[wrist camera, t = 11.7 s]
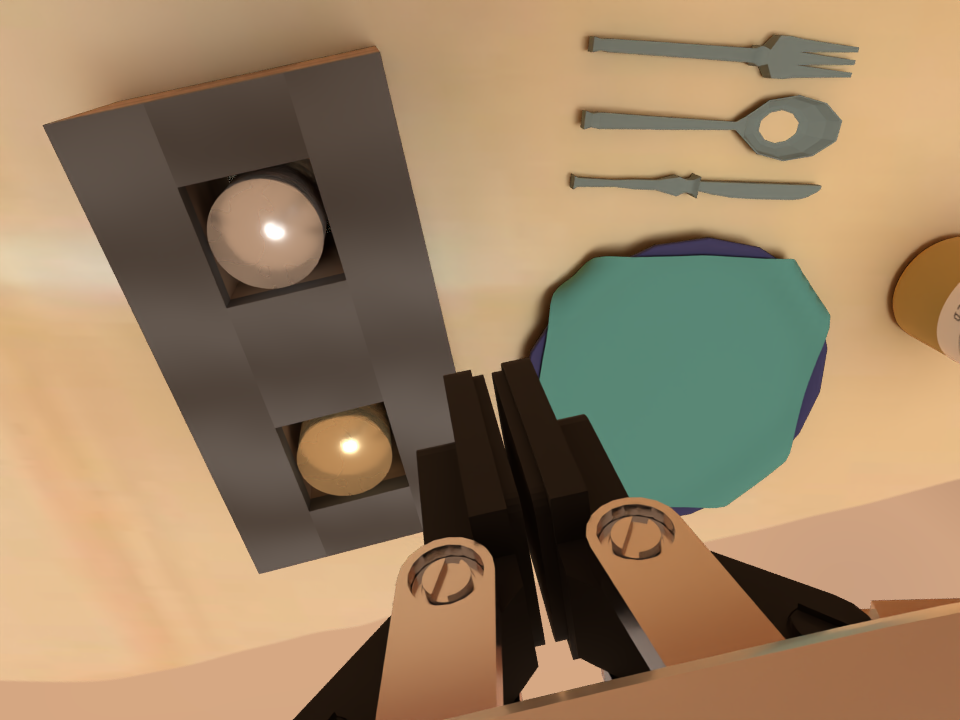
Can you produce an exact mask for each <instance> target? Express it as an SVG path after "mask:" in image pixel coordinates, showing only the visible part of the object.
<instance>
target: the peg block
mask: <svg viewBox="0 0 960 720" xmlns="http://www.w3.org/2000/svg"><path fill="white" fill-rule="evenodd" d="M43 127H44V129H45V131H46V133H47V135H48V137H49V139H50V142H51V144H52V146H53V148H54V150H55V152H56V154H57V156H58V158H59V160H60V162H61V164H62V166H63V169H64V171H65V173H66V175H67V177H68V179H69V181H70V183H71V185H72V187H73V189H74V191H75V193H76V195H77V198H78V200H79V202H80V204H81V206H82V208H83V210H84V212H85V214H86V216H87V218H88V220H89V222H90V224H91V227H92V229H93V231H94V233H95V235H96V237H97V239H98V241H99V243H100V245H101V247H102V249H103V251H104V253H105V256H106V258H107V260H108V262H109V264H110V266H111V268H112V270H113V272H114V274H115V276H116V278H117V280H118V283H119V285H120V287H121V289H122V291H123V293H124V295H125V297H126V299H127V301H128V303H129V305H130V307H131V309H132V312H133V314H134V316H135V318H136V320H137V322H138V324H139V326H140V328H141V330H142V332H143V334H144V336H145V338H146V341H147V343H148V345H149V347H150V349H151V351H152V353H153V355H154V357H155V359H156V361H157V363H158V365H159V367H160V370H161V372H162V374H163V376H164V378H165V380H166V382H167V384H168V386H169V388H170V390H171V392H172V394H173V396H174V399H175V401H176V403H177V405H178V407H179V409H180V411H181V413H182V415H183V417H184V419H185V421H186V423H187V426H188V428H189V430H190V432H191V434H192V436H193V438H194V440H195V442H196V444H197V446H198V448H199V450H200V452H201V455H202V457H203V459H204V461H205V463H206V465H207V467H208V469H209V471H210V473H211V475H212V477H213V479H214V481H215V484H216V486H217V488H218V490H219V492H220V494H221V496H222V498H223V500H224V502H225V504H226V506H227V508H228V510H229V513H230V515H231V517H232V519H233V521H234V523H235V525H236V527H237V529H238V531H239V533H240V535H241V537H242V540H243V542H244V544H245V546H246V548H247V550H248V552H249V554H250V556H251V558H252V560H253V562H254V564H255V566H256V569H257V571H258V573H259V574H262V573H265V572H269V571H273V570H277V569H281V568H285V567H289V566H292V565H296V564H300V563H304V562H308V561H312V560H316V559H319V558H323V557H327V556H331V555H335V554H339V553H343V552H346V551H350V550H354V549H358V548H362V547H366V546H370V545H373V544H377V543H381V542H385V541H389V540H393V539H397V538H400V537H404V536H408V535H412V534H416V533H420V532H423V524H422V513H421V502H420V491H419V480H418V468H417V457H416V451H417V450H420V449H425V448H429V447H434V446H438V445H443V444H448V443H452V442H455V440H454V435H453V429H452V424H451V418H450V413H449V407H448V402H447V396H446V391H445V385H444V379H443V375H448V374H453V373H456V371H455V367H454V363H453V358H452V354H451V350H450V346H449V342H448V337H447V333H446V329H445V325H444V321H443V316H442V312H441V308H440V304H439V299H438V295H437V291H436V287H435V283H434V278H433V274H432V270H431V266H430V261H429V257H428V253H427V249H426V245H425V240H424V236H423V232H422V228H421V224H420V219H419V215H418V211H417V207H416V202H415V198H414V194H413V190H412V186H411V181H410V177H409V173H408V169H407V164H406V160H405V156H404V152H403V148H402V143H401V139H400V135H399V131H398V127H397V122H396V118H395V114H394V110H393V105H392V101H391V97H390V93H389V89H388V84H387V80H386V76H385V72H384V68H383V63H382V59H381V55H380V52H379V50H378V49H377V47H376V46H373V47H368V48H363V49H359V50H354V51H350V52H345V53H340V54H336V55H331V56H327V57H322V58H317V59H313V60H308V61H303V62H299V63H294V64H290V65H285V66H280V67H276V68H271V69H267V70H262V71H257V72H253V73H248V74H243V75H239V76H234V77H230V78H225V79H220V80H216V81H211V82H207V83H202V84H197V85H193V86H188V87H184V88H179V89H174V90H170V91H165V92H160V93H156V94H151V95H147V96H142V97H137V98H133V99H128V100H124V101H119V102H115V103H112V104H109V105H106V106H102V107H99V108H96V109H93V110H90V111H86V112H83V113H80V114H77V115H74V116H71V117H67V118H64V119H61V120H58V121H55V122H51V123H48V124H45V125H43ZM307 158H310V162H311V165H312V168H313V172H314V175H315V178H316V181H317V185H318V188H319V191H320V195H321V198H322V201H323V204H324V208H325V211H326V214H327V218H328V221H329V224H330V227H331V231H332V232H329V233H325V239H324V245H323V250H322V254H321V257H320V259H319V261H318V263H317V265H316V266H315V268H314V269H313V270H312V271H311V273H310V274H309V275H307V276H306V277H305V278H304V279H302V280H301V281H299V282H297V283H295V284H293V285H290V286H287V287H283V288H277V289H265V288H258V287H254V286H251V285H248V284H245V283H243V282H241V281H239V280H238V279H236V278H234V277H233V276H232V275H230V274H229V273H228V272H227V271H226V270H225V269H224V268H223V267H222V266H221V265H220V264H219V263H218V261H217V260H216V258H215V257H214V255H213V253H212V251H211V248H210V245H209V242H208V237H207V220H208V216H209V213H210V210H211V208H212V206H213V204H214V203H215V201H216V200H217V198H218V197H219V196H220V195H221V193H222V192H223V191H224V190H225V189H226V187H227V186H228V185H229V184H230V183H229V180H228V177H227V176H231V175H236V174H240V173H245V172H249V171H254V170H258V169H263V168H267V167H271V166H276V165H280V164H285V163H289V162H294V161H298V160H303V159H307ZM383 401H384V405H385V408H386V411H387V414H388V418H389V421H390V433H391V446H392V463H391V466H390V469H389V471H388V473H387V475H386V476H385V477H384V479H383V480H382V481H381V482H380V483H379V484H377V485H376V486H375V487H373V488H371V489H370V490H368V491H365V492H363V493H360V494H356V495H349V496H338V495H331V494H327V493H324V492H322V491H320V490H318V489H316V488H314V487H313V486H311V485H310V484H309V483H308V482H307V481H306V480H305V479H304V477H303V476H302V475H301V473H300V471H299V468H298V464H297V451H298V444H299V438H300V431H301V424H302V421H306V420H310V419H314V418H318V417H322V416H326V415H331V414H335V413H339V412H343V411H347V410H351V409H355V408H359V407H363V406H367V405H371V404H375V403H379V402H383Z"/></svg>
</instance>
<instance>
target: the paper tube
mask: <svg viewBox="0 0 960 720" xmlns="http://www.w3.org/2000/svg"><path fill="white" fill-rule="evenodd" d="M893 311H894V315H895V319H896V321H897V323H898V325H899V326H900V327H901V329H903V330H904V331H905V332H906V333H907V334H909V335H910V336H912V337H914V338H916V339H918V340H919V341H921V342H923V343H925V344H926V345H928V346H930V347H932V348H934V349H935V350H937V351H939V352H941V353H942V354H944V355H946V356H948V357H949V358H951V359H952V360H954V361H956V362H957V363H959V364H960V237H954V238H950V239H946V240H943V241H941V242H938V243H936V244H934V245H932V246H930V247H928V248H927V249H925V250H924V251H923V252H921V253H920V254H919V255H918V256H917V257H915V258H914V259H913V260H912V262H911V263H910V264H909V265H908V266H907V267H906V269H905V270H904V272H903V273H902V275H901V277H900V278H899V280H898V283H897V285H896V288H895V291H894V295H893Z"/></svg>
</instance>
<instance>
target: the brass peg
mask: <svg viewBox="0 0 960 720" xmlns="http://www.w3.org/2000/svg"><path fill="white" fill-rule="evenodd" d="M391 463H392V446H391V433H390V421H389V418H388V414H387V411H386V408H385V405H384V401H383V402H379V403H375V404H371V405H367V406H363V407H359V408H355V409H351V410H347V411H343V412H339V413H335V414H331V415H326V416H322V417H318V418H314V419H310V420H306V421H302V424H301V431H300V438H299V444H298V451H297V464H298V468H299V471H300V473H301V475H302V476H303V477H304V479H305V480H306V481H307V482H308V483H309V484H310V485H311V486H313V487H314V488H316V489H318V490H320V491H322V492H324V493H327V494H331V495H338V496H349V495H356V494H360V493H363V492H365V491H368V490H370V489H371V488H373V487H375V486H376V485H377V484H379V483H380V482H381V481H382V480H383V479H384V477H385V476H386V475H387V473H388V471H389V469H390V466H391Z"/></svg>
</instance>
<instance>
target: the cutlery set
mask: <svg viewBox="0 0 960 720" xmlns="http://www.w3.org/2000/svg"><path fill="white" fill-rule="evenodd" d="M858 50H859V47H852V46H845V45H838V44H831V43H825V42H819V41H813V40H806V39H801V38H797V37H793V36H782V35H773V36H772V37H771V38H770V39H769V40H768V41H767V42H766V43H765V44H764V45H763V46H757V45H752V48H743V47H728V46H713V45H698V44H683V43H668V42H653V41H638V40H623V39H600V38H597V37H592V36H590V38H589V46H588V51H590V52H595V51H605V52H614V53H628V54H641V55H655V56H669V57H682V58H696V59H709V60H723V61H736V62H748V65H752V66H758V68H759V70H760V72H761V74H762V76H763V77H765V78H777V79H786V78H821V77H851V75H852V73H848V72H841V71H834V70H827V69H820V68H813V67H806V66H799V65H854V64H855V61H856V60H849V59H842V58H835V57H828V56H822V55H815V54H809V53H802V52H858ZM780 110H784V111H787V112H790V113H793V114H794V116H795V118H796V119H797V121H798V122H799V124H798V128H797V132H796V133H795V134H794V135H793V136H792V137H791V138H789V139H788V140H786V141H783V142H778V143H772V142H769V141H767V140H764V139H763V137H762V135H761V134H760V132H759V127H760V122H761V120H762V119H763V118H764V117H766V116H767V115H768V114H769V113H771V112H775V111H780ZM841 123H842V120H841V119H840V118H839V117H838V116H837V114H836V113H835V112H834V111H833V110H832V109H831V107H830V106H829V105H828V104H827V103H824V102H821V101H817V100H814V99H811V98H807V97H804V96H801V95H798V96H792V97H786V98H780V99H774V100H769V101H768V102H766V103H765V104H763V105H762V106H761V107H759V108H758V109H756V110H755V111H753V112H752V113H750V114H749V115H747V116H746V117H744V118H742V119H740V120H738V121H736V122H732V121H717V120H702V119H688V118H672V117H658V116H645V115H632V114H618V113H606V112H588V111H586V110H582V119H581V128H583V129H587V128H590V127H592V128H597V129H653V130H736V131H737V132H738V133H739V135H740V136H741V137H742V138H743V139H744V140H745V141H746V142H747V143H748V145H749V146H750V147H751V148H752V149H753V150H754V151H755V152H756V154H759V155H763V156H766V157H770V158H774V159H777V160H781V161H786V160H792V159H798V158H804V157H810V156H813V155H815V154H817V153H818V152H820V151H821V150H823V149H824V148H826V147H828V146H829V145H831V144H832V143H834V142H836V140H837V137H838V133H839V130H840V126H841ZM700 180H701V177H700V176H698V175H695V174H693V173H692V174H691V177H690V178H686V179H683V178H681V177H679V176H676V175H671V176H667V177H663V178H660V179H656V180H653V179H617V180H613V179H599V178H584V177H576V176H574V175H573V174H571V180H570V187H571V188H572V189H575V188H576V187H620V188H629V189H642V190H657V191H661V192H664V193H667V194H671V195H674V196H678V195H680V194H683V193H688V194H689V195H691V196H693V197H695V198H697V195H698V191H700V192H704V193H708V194H713V195H719V196H725V197H731V198H745V199H773V200H796V199H802V198H806V197H808V196H810V195H812V194H814V193H816V192H818V191H819V190H820V189H821V186H820V185H815V184H786V183H757V182H728V181H700ZM829 326H830V314H829V313H828V311H827V309H826V308H825V306H824V305H823V303H822V302H821V300H820V299H819V297H818V296H817V294H816V293H815V291H814V290H813V288H812V287H811V285H810V284H809V282H808V280H807V279H806V277H805V276H804V274H803V273H802V271H801V269H800V267H799V266H798V264H797V262H796V261H795V260H794V259H777V258H775V257H774V256H772V255H770V254H769V253H767V252H766V251H764V250H763V249H761V248H760V247H756V246H750V245H745V244H740V243H735V242H730V241H724V240H719V239H714V238H709V237H706V238H700V239H693V240H686V241H679V242H672V243H665V244H658V245H653V246H651V247H649V248H647V249H645V250H643V251H640V252H638V253H636V254H634V255H632V256H630V257H614V256H604V257H596V258H593V259H591V260H590V261H588V262H586V263H585V264H584V265H583V266H582V267H581V269H580V270H579V271H578V272H577V273H576V274H575V275H574V276H573V277H571V278H570V279H569V280H567V281H566V282H565V283H563V284H562V285H561V286H559V287H558V289H557V290H556V291H555V292H554V293H553V297H552V300H551V304H550V313H549V323H548V325H547V327H546V328H545V330H544V331H543V333H542V334H541V336H540V337H539V339H538V341H537V342H536V344H535V345H534V347H533V348H532V350H531V352H530V356H529V358H530V360H531V362H532V364H533V367H534V369H535V371H536V373H537V376H538V378H539V380H540V382H541V385H542V387H543V389H544V392H545V394H546V396H547V398H548V401H549V403H550V405H551V407H552V410H553V412H554V414H555V417H556V419H557V420H558V419H563V418H568V417H572V416H577V415H581V414H585V415H586V416H587V417H588V419H589V421H590V423H591V425H592V426H593V428H594V430H595V432H596V434H597V436H598V438H599V440H600V442H601V444H602V446H603V448H604V450H605V452H606V453H607V455H608V457H609V459H610V461H611V463H612V465H613V467H614V469H615V471H616V473H617V475H618V477H619V479H620V481H621V482H622V484H623V486H624V488H625V490H626V492H627V494H628V496H629V497H642V498H647V499H651V500H656V501H658V502H660V503H663V504H665V505H667V506H669V507H670V508H671V509H673V510H674V511H675V512H676V513H677V514H678V515H680V516H682V515H688V514H692V513H694V512H696V511H698V510H701V509H703V508H719V507H725V506H727V505H728V504H730V503H731V502H732V501H734V500H735V499H737V498H738V497H739V496H741V495H742V494H743V493H745V492H746V491H748V490H749V489H750V488H752V487H753V486H754V485H756V484H757V483H759V482H760V481H761V480H763V479H764V478H765V477H767V476H768V475H769V474H770V473H772V472H773V471H774V470H775V469H777V468H778V467H779V466H780V465H782V464H783V463H784V462H785V461H786V459H787V457H788V456H789V454H790V450H791V447H792V443H793V440H794V439H795V437H796V436H797V435H798V434H799V433H800V431H801V429H802V427H803V425H804V423H805V421H806V419H807V417H808V415H809V413H810V411H811V409H812V407H813V405H814V403H815V401H816V399H817V397H818V395H819V393H820V389H821V383H822V377H823V371H824V365H825V359H826V354H827V344H826V337H827V333H828V330H829Z"/></svg>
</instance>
